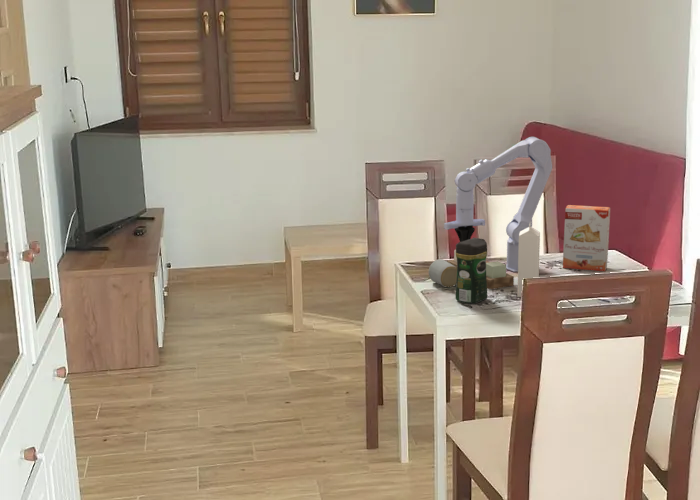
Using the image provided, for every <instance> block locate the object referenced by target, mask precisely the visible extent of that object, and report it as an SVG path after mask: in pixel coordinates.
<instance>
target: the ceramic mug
mask: <svg viewBox="0 0 700 500" xmlns="http://www.w3.org/2000/svg"><path fill="white" fill-rule="evenodd" d="M428 277H429V279H430V280H431V281H432V282H433V283H435V284H438V285H440V286H442V287H445V288H452V287H454V286H456V280H457V268H456V267H455V266H454V265H452V264H450V263H448V262H447V260H445V259H443V258H442V259H441V258H440V259H436V260H434V261H433V262H432V263H431V264H430V265H429V267H428Z"/></svg>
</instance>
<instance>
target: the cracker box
mask: <svg viewBox="0 0 700 500" xmlns="http://www.w3.org/2000/svg"><path fill="white" fill-rule="evenodd" d="M564 212H565V213H564V227H563V228H564V229H563V231H564V233H563V249H562V250H563V252H562V253H563V254H562V255H563V256H562V268H563V269H572V270H583V271H585V270H586V271H597V272H606V270H607V268H608V260H609V259H608V257H609V242H610V241H609V239H610V238H609V237H610V224H611V223H610V222H611V221H610V220H611V207H609V206H595V205H594V206H590V205H577V204H576V205H574V204H572V205H571V204H568V205H566V207H565V211H564Z"/></svg>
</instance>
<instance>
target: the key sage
mask: <svg viewBox="0 0 700 500" xmlns="http://www.w3.org/2000/svg"><path fill="white" fill-rule="evenodd" d="M506 265H507V263H506V264H505V263H503V262H501V261H499V260H496V261H489V262H488V263H486V276H488V277H490V278H499V277H506V273H507V269H506Z"/></svg>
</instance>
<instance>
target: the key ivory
mask: <svg viewBox="0 0 700 500" xmlns="http://www.w3.org/2000/svg"><path fill="white" fill-rule="evenodd" d="M453 256H454V257H453V260H454V261H455V262H457V257H456V249H454V251H453Z"/></svg>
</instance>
